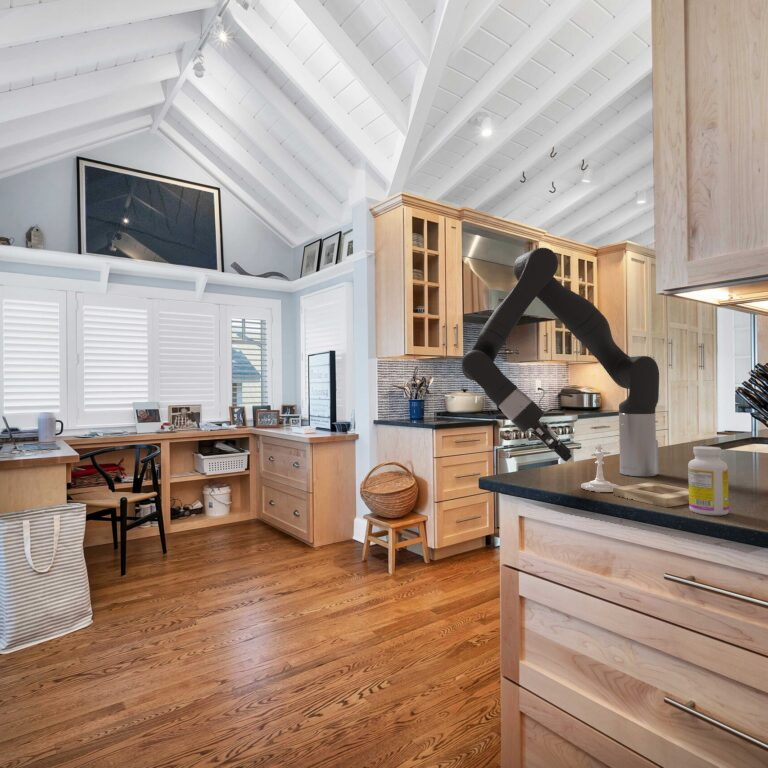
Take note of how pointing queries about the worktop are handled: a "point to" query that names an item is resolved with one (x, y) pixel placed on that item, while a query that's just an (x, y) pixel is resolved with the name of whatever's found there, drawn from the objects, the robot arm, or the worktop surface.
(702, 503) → the supplement bottle
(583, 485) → the coaster
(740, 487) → the worktop surface
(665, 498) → the pocket block
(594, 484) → the chess piece
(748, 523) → the worktop surface
